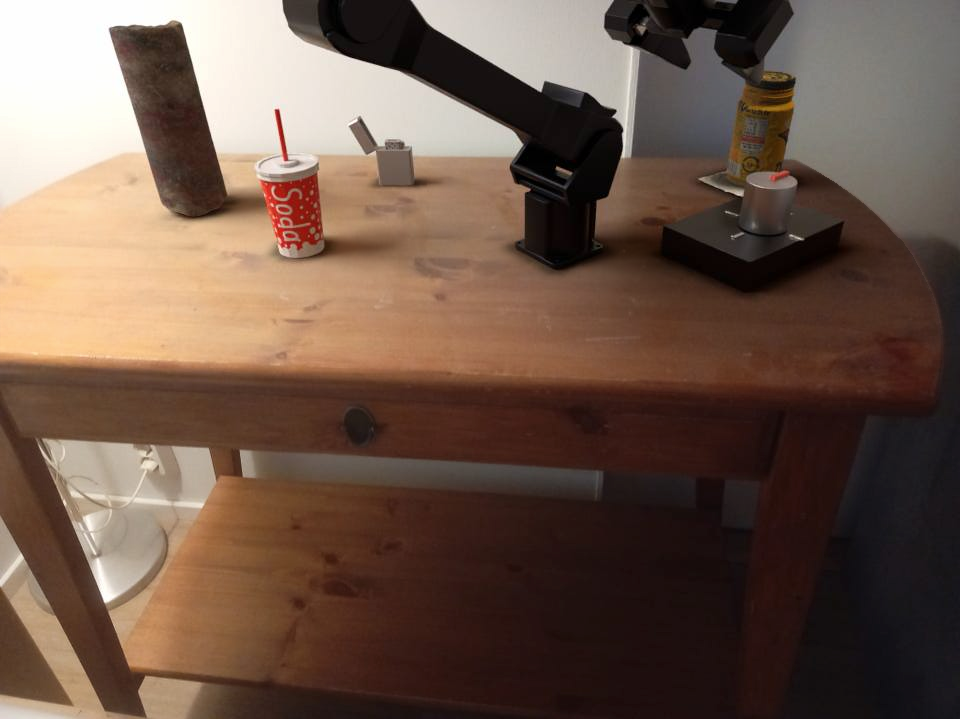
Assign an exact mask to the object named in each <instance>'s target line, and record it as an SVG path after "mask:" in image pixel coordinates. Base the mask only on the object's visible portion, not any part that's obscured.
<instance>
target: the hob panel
mask: <svg viewBox="0 0 960 719" xmlns="http://www.w3.org/2000/svg"><path fill="white" fill-rule="evenodd" d="M742 200H743V196H739V197H737V198H735V199H732V200H728V201H727V202H724V203H721V204H718V205H716V206H713V207H710V208H708V209H705V210H702V211H700V212H697V213H694V214H691V215H689V216H686V217H683V218H680V219H678V220H675V221H673V222H670V223H668V224H667V223H666V224H665V225H663V227H662V235H661V245H660V253H659V254H660V255H661V256H663V257H665V258H668V259H670V260H672V261H674V262H677V263H679V264H681V265H684V266H686V267H688V268H690V269H692V270H695V271H697V272H699V273H701V274H703V275H705V276H707V277H710V278H711V279H714V280H716V281H719V282H721V283H723V284H725V285H727V286H730V287H732V288H734V289H736V290H739V291H741V292H743V293H747V292H749V291H750V290H752V289H755V288H757V287H759V286H761V285H764V284H765V283H767V282H770V281H773V280H774V279H776V278H778V277H780V276H783V275H785V274H787V273H789V272H791V271H793V270H796V269H797V268H800V267H802V266H804V265H806V264H808V263H811V262H812V261H815V260H817V259H819V258H821V257H823V256H826V255H828V254H830V253H832V252H834V251H836V250H838V248H839V244H840V240H841V236H842V232H843V228H844V224H845V220H844V219H842V218H839V217H836V216H832V215H829V214H827V213H823V212H821V211H818V210H815V209H812V208H808V207H806V206H803V205H800V204H797V203H794V202H793V206H792V211H791V216H790V220H789V225H788V229H787V230H786V231H785V232H784V233H781V234H777V235H760V234H755V233H751V232H748V231H746V230H744V229H742V228H741V227H740V226H739V218H740V212H741V206H742Z"/></svg>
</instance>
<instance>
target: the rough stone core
mask: <svg viewBox="0 0 960 719" xmlns="http://www.w3.org/2000/svg"><path fill="white" fill-rule="evenodd" d="M108 32H109V36H110V39H111V42H112V46H113V49H114V52H115V55H116V56H115V57H116V58H117V61H118V62H117V63H118V64H119V68H120V72H121V75H122V77H123V81H124V83H125V87H126V90H127V93H128V98H129V100H130V103H131V106H132V111H133V113H134V117H135V120H136V123H137V126H138V129H139V133H140V137H141V140H142V144H143V147H144V150H145V153H146V157H147V161H148V164H149V167H150V171H151V174H152V177H153V178H152V179H153V181H154V184H155V187H156V190H157V193H158V197H159V199H160V203H161V204H162V206H164V207H165V208H166V209H167V210H168V211H169V212H173V213H178V214H181V215H186V216H187V217H200V216H204V215H206V214H209V213H210V212H211V211H214V210H217V209H220V208H221V207H222V205H223V204H224V202H225V200H226V199H227V198H228V192H227V188H226V184H225V179H224V176H223V172H222V169H221V166H220V162H219V158H218V154H217V151H216V146H215V144H214V140H213V137H212V132H211V129H210V125H209V120H208V118H207V114H206V110H205V106H204V102H203V99H202V94H201V91H200V86H199V83H198V80H197V79H198V78H197V76H196V71H195V68H194V64H193V60H192V57H191V52H190V49H189V46H188V41H187V37H186V34H185V30H184V26H183V23H182V22H181V21H178V20H176V19H172V20H170V21H168V23H166V24H159V25H142V24H130V25H115V26H110V27H108Z"/></svg>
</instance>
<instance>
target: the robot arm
mask: <svg viewBox="0 0 960 719" xmlns="http://www.w3.org/2000/svg"><path fill="white" fill-rule="evenodd" d="M281 2H282V12H283V14H284V18H285V20H286V23H287V27H288V28H289V30H290V31H291V32H292V33H293V35H294V36H296V37H297V38H298V39H300V40H302V41H303V42H304V43H308V44H310V45H312V46H315V47H318V48H321V49H323V50H327V51H330V52H332V53H334V54H335V53H336V54H338V55H341V56H344V57H347V58H350V59H352V60H353V59H354V60H356V61H360V62H364V63H368V64H371V65H374V66H379V67H380V68H381V67H382V68H385V69H389V70H394V71H396V72H397V71H398V72H399V73H402V74H403V75H405V76H407V77H409V78H411V79H413V80H415V81H417V82H419V83H421V84H423V85H425V86H427V87H429V88H430V89H431V90H434V91H436V92H438V93H440V94H442V95H444V96H446V97H448V98H450V99H451V100H453V101H456V102H458V103H459V104H461V105H463V106H464V107H467V108H468V109H470V110H473V111H475V112H477V113H478V114H480V115H482V116H484V117H486V118H488V119H490V120H492V121H494V122H495V123H497V124H499V125H502V126H503V127H504V128H507V129H509V130H511V131H512V132H513V133H514V134H515V135H516V136H517V138H518V139H519V141H520V142H521V144H522V146H521V147H520V149H519V150H518V152H517V153H516V155H515V157H514V158H513V159H512V161H510V164H509V170H510V173H511V177H512V179H513V182H514V184H515V185H518V186H522V187H524V188H526V189H529V191H526V192H524V238H522V239H519V240H516V241H515V242H514V248H515V249H517V250H518V251H521V252H523V253H524V254H526V255H528V256H529V257H531V258H533V259H535V260H537V261H539V262H541V263H542V264H545V265H547V266H548V267H550V268H552V269H558V268H561V267H564V266H567V265H569V264H572V263H575V262H578V261H581V260H582V259H585V258H588V257H591V256H593V255H596V254H599V253H601V252H604V251H603V250H604V245H603V244H601V243H599V242H597V241H595V240H594V239H595V237H596V222H597V207H598V206H597V204H598V201H600V200H603V199H606V198H608V197H609V196H610V193H611V189H612V185H613V183H614V180H615V176H616V173H617V171H618V168H619V164H620V161H621V158H622V155H623V150H624V141H623V133H624V127H623V125H622V123H621V122H620V121H619V120H618V119H617V118H616V117H614V116H615V115H616V114H617V112H618V110H617V109H616V108H612V107H610V106H606V105H603V104H601V103H600V102H599V101H598V99H596V98H595V97H594V96H592V95H591V94H590V93H589V92H586V91H583V90H579V89H576V88H572V87H568V86H565V85H562V84H558V83H555V82H552V81H551V82H550V81H547V80H544V82H543V85H542V88H541V91H540V90H539V89H536V88H534V87H533V86H531V85H530V84H528V83H527V82H525V81H523V80H521V79H519V78H518V77H516V76H514V75H513V74H511V73H509V72H508V71H506V70H505V69H503V68H501V67H499V66H498V65H496V64H494V63H493V62H491V61H489V60H488V59H486V58H484V57H482V56H481V55H480V54H477V53H475V52H474V51H472V50H471V49H469V48H467V47H466V46H464V45H462V44H461V43H460V42H458V41H456V40H454V39H452V38H451V37H449V36H448V35H446V34H445V33H442V32H441V31H439V30H437V29H435V28H434V27H433V26H432V25H430V24H429V22H427V20H426V19H425V17H424V16H423V14H422V13H421V11H420V10H419V9H418V7H417V6H416V4H415V3H414V1H412V0H281ZM794 15H795V12H794V8H793V6H792V3H791V1H790V0H737V1H736V2H727V1H720V0H613V1H612V2H611V4H610V6H609V7H608V8H607V10H606V12H605V13H604V18H603V20H604V21H603V29H604V30H605V32H606V33H607V35H608V36H609V38H610V39H611V40H612V41H617V42H621V43H622V44H623V45H624V46H628V47H630V48H633V49H634V50H635V49H636V50H637V51H640V52H642V53H645V54H647V55H649V56H652V57H654V58H656V59H659V60H661V61H663V62H665V63H667V64H668V63H669V64H670V65H672V66H675V67H677V68H679V69H681V70H684V71H685V70H686V71H687V70H688V69H689V67H690V65H691V64H692V59H691V55H690V53H689V50H688V48H687V46H686V44H685V41H684V40H683V39H686V40H688V39H689V38H690V36H691V35H692V33H693V32H694V31H695V30H698V29H700V28H701V29H706V30H712V31H716V32H715V37H714V44H713V50H714V51H715V53H716V55H717V56H718V58H720V59H722V60H721V62H720V64H721V65H722V66H724V67H725V68H727V69H728V70H730V71H731V72H733V73H735V74H736V75H738V76H739V77H741V78H742V79H743V80H744V81H745V80H747V81H748V82H750V83H752V84H753V85H759V83H760V82H761V80H762V79H763V77H764V71H765V58H766V56H767V54H768V53H769V52H770V50H771V48H772V47H773V46H774V44H775V43H776V41H777V40H778V38H779V36H780V35H781V34H782V32H783V31H784V30H785V28H786V27H787V25H788V24H789V22H790V21H791V19H792V18H793V16H794ZM557 168H560V169H562V170H565V171H567V172H570V173H571V174H569V173H566V172H565V171H561V170H559V169H557Z"/></svg>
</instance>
